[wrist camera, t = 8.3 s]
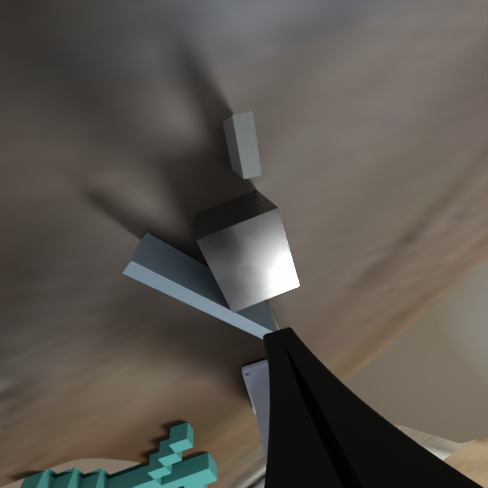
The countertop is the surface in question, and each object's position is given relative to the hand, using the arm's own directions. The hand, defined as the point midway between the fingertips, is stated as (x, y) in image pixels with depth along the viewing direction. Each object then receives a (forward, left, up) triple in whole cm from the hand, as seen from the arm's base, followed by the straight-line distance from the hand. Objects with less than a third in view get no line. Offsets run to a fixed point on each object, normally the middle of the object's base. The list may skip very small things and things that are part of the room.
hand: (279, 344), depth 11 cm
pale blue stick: (-1, +3, -9) cm, 10 cm away
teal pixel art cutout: (-32, +21, -10) cm, 39 cm away
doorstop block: (+2, 0, -10) cm, 10 cm away
